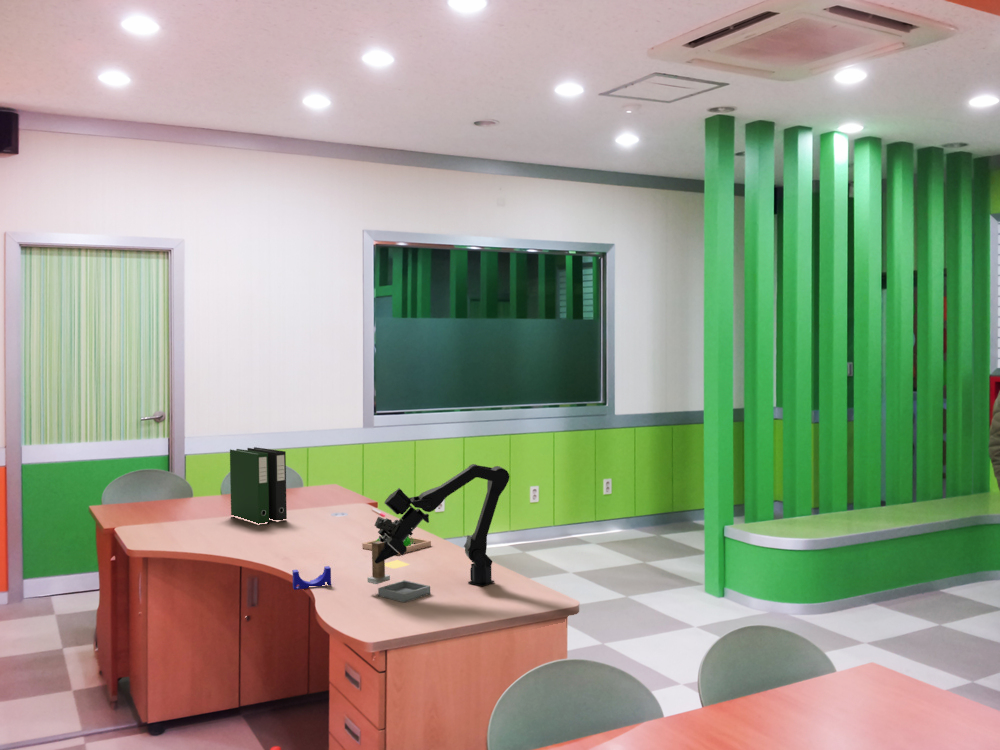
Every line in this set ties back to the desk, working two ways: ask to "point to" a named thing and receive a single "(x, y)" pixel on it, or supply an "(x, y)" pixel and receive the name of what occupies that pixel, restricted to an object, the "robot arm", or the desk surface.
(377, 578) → the wooden post on base
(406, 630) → the desk surface
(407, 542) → the green leafy plants
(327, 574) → the cable clip
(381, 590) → the tray
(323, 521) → the desk surface
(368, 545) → the shallow wooden tray
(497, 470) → the robot arm
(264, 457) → the binder
